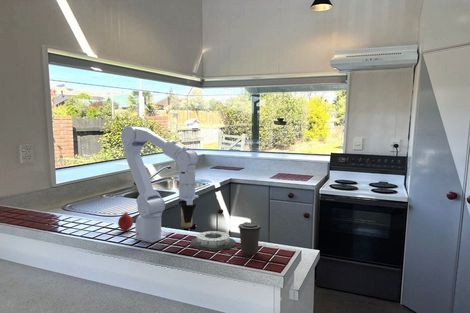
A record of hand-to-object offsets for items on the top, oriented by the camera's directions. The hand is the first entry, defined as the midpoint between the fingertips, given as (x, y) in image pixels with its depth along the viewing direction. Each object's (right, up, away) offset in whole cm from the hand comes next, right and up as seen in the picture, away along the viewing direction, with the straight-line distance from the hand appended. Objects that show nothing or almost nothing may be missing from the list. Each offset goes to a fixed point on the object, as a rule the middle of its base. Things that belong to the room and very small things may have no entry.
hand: (186, 221), depth 121 cm
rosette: (+9, -9, +3) cm, 13 cm away
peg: (0, -2, 0) cm, 2 cm away
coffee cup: (+22, -10, -6) cm, 25 cm away
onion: (-28, -8, +17) cm, 33 cm away
